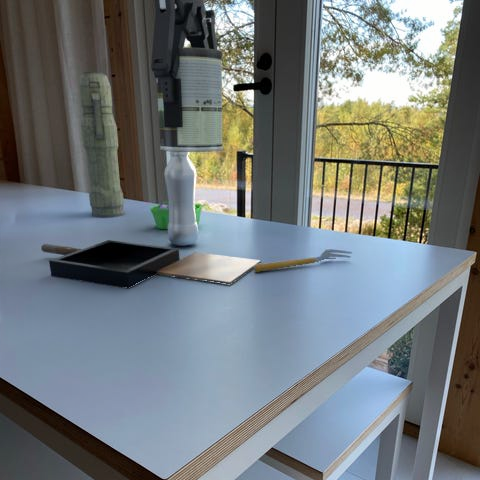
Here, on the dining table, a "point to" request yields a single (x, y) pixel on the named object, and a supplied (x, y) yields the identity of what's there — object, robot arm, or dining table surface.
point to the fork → (300, 260)
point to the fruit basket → (162, 214)
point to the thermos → (100, 145)
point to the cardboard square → (209, 267)
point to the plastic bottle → (181, 199)
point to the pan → (110, 262)
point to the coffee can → (196, 103)
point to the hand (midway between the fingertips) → (191, 126)
